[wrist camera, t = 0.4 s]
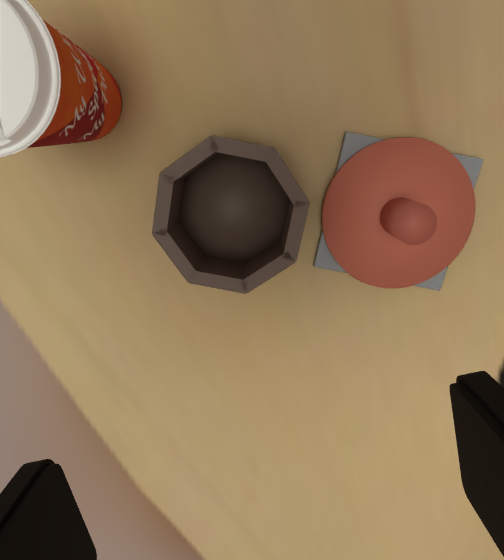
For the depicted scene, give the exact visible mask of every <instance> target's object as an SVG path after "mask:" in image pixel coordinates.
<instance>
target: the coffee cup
mask: <svg viewBox="0 0 504 560" xmlns="http://www.w3.org/2000/svg"><path fill="white" fill-rule="evenodd" d="M121 108H122V100H121V94H120V90H119V87H118V85H117V83H116V81H115V80H114V78H113V76H112V75H111V74H110V73H109V72H108V71H107V70H106V69H105V68H104V67H103V66H102V65H101V64H100V63H99V62H97V61H96V60H95V59H94V58H92V57H91V56H90V55H89V54H87V53H86V52H85V51H83V50H82V49H81V48H79V47H78V46H77V45H76V44H74V43H73V42H72V41H70V40H69V39H68V38H66V37H65V36H64V35H62V34H61V33H60V32H58V31H57V30H56V29H54V28H53V27H52V26H50V25H49V24H48V23H46V22H45V21H44V20H42V18H41V17H40V15H39V14H38V12H37V11H36V10H35V9H34V8H33V6H32V5H31V4H30V3H29V2H28V1H27V0H0V157H4V156H8V155H12V154H15V153H17V152H19V151H21V150H24V149H26V148H30V147H40V146H51V145H60V144H70V143H78V142H86V141H92V140H96V139H99V138H101V137H103V136H105V135H107V134H108V133H109V132H110V131H111V130H112V129H113V128H114V127H115V125H116V124H117V122H118V120H119V117H120V114H121Z"/></svg>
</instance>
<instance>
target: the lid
mask: <svg viewBox="0 0 504 560" xmlns="http://www.w3.org/2000/svg"><path fill="white" fill-rule="evenodd" d="M474 216H475V196H474V190H473V186H472V183H471V180H470V178H469V176H468V173H467V172H466V170H465V168H464V167H463V165H462V164H461V163H460V162H459V160H458V159H457V158H456V157H455V156H454V155H453V154H451V153H450V152H449V151H448V150H446V149H445V148H443V147H442V146H440V145H438V144H435V143H433V142H431V141H428V140H424V139H420V138H412V137H399V138H392V139H386V140H382V141H379V142H376V143H373V144H371V145H369V146H367V147H365V148H363V149H362V150H360V151H358V152H357V153H356V154H354V155H353V156H352V157H350V158H349V159H348V160H347V161H346V162H345V163H344V164H343V165H342V166H341V168H340V169H339V170H338V171H337V173H336V174H335V176H334V177H333V179H332V181H331V182H330V185H329V187H328V189H327V191H326V195H325V198H324V201H323V207H322V230H323V234H324V238H325V241H326V244H327V246H328V248H329V250H330V252H331V254H332V256H333V257H334V258H335V260H336V261H337V262H338V264H339V265H340V266H341V267H342V268H343V269H344V270H345V271H346V272H347V273H349V274H350V275H351V276H352V277H354V278H356V279H358V280H359V281H361V282H364V283H366V284H369V285H372V286H376V287H382V288H402V287H408V286H412V285H416V284H419V283H421V282H424V281H426V280H428V279H430V278H432V277H434V276H435V275H437V274H438V273H440V272H441V271H443V270H444V269H445V268H446V267H447V266H448V265H450V264H451V262H452V261H453V260H454V259H455V258H456V257H457V256H458V254H459V253H460V252H461V250H462V249H463V247H464V245H465V243H466V242H467V240H468V237H469V235H470V232H471V230H472V226H473V222H474Z"/></svg>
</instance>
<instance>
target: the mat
mask: <svg viewBox="0 0 504 560" xmlns="http://www.w3.org/2000/svg"><path fill="white" fill-rule="evenodd" d="M382 140H386V139H381V138H376V137H371V136H366V135H361V134H356V133H351V132H345V135H344V139H343V143H342V147H341V152H340V156H339V160H338V164H337V168H336V172H335V174H336V173H337V171H338V170H339V169H340V168H341V166H342V165H343V164H344V163H345V162H346V161H347V160H348V159H349V158H350V157H352V156H353V155H354V154H356V153H357V152H358V151H360V150H362V149H363V148H365V147H367V146H369V145H371V144H373V143H376V142H379V141H382ZM451 154H453V155H454V156H455V157H456V158H457V159H458V160H459V162H460V163H461V164H462V165H463V167H464V168H465V170H466V172H467V173H468V176H469V178H470V180H471V183H472V186H473V190H474V187H475V184H476V181H477V178H478V175H479V172H480V169H481V166H482V163H483V160H484V159H479V158H474V157H469V156H464V155H459V154H454V153H451ZM313 265H314V267H318V268H324V269H329V270H334V271H339V272H345V273H347V272H346V271H345V270H344V269H343V268H342V267H341V266H340V265H339V264H338V262H337V261H336V260H335V258H334V257H333V256H332V254H331V252H330V250H329V248H328V246H327V244H326V241H325V238H324V234H323V230H322V231H321V235H320V239H319V243H318V247H317V252H316V256H315V260H314V264H313ZM447 268H448V266H447V267H446V268H445V269H444V270H443V271H441V272H440V273H438V274H437V275H435V276H434V277H432V278H430V279H428V280H426V281H424V282H421V283H419V284H416V285H413V286H418V287H423V288H428V289H433V290H439V291H440V289H441V286H442V283H443V280H444V277H445V274H446V271H447Z"/></svg>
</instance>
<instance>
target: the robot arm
mask: <svg viewBox="0 0 504 560" xmlns="http://www.w3.org/2000/svg"><path fill="white" fill-rule="evenodd" d="M450 396H451V403H452V411H453V418H454V426H455V433H456V441H457V448H458V456H459V463H460V470H461V478H462V484H463V488H464V490H465V493H466V495H467V498H468V499H469V501H470V503H471V505H472V506H473V508H474V509H475V511H476V513H477V514H478V516H479V518H480V519H481V521H482V522H483V524H484V526H485V527H486V529H487V531H488V532H489V534H490V535H491V537H492V539H493V540H494V542H495V543H496V545H497V547H498V548H499V550H500V552H501V553H502V555H503V556H504V388H503V387H502V386H501V385H500V384H499V383H498V382H496V381H495V380H494V379H493V378H492V377H491V376H490V375H489V374H488V373H487V372H485V371H479V372H474V373H469V374H464V375H460V376H458V377H457V379H456V383H454V384H451V385H450ZM0 560H97V554H96V549H95V547H94V544H93V542H92V540H91V537H90V535H89V533H88V530H87V527H86V525H85V522H84V520H83V518H82V515H81V513H80V511H79V508H78V506H77V503H76V501H75V499H74V496H73V494H72V491H71V489H70V487H69V484H68V482H67V480H66V477H65V475H64V472H63V470H62V468H61V466H60V465H59V464H55V463H54V462H53V461H52V460H50V459H45V460H40V461H36V462H30V463H26V464H24V465H23V466H22V467H21V468H20V469H19V471H18V472H17V473H16V474H15V475H14V477H13V478H12V479H11V481H10V482H9V483H8V484H7V486H6V487H5V488H4V490H3V491H2V492H1V494H0Z"/></svg>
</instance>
